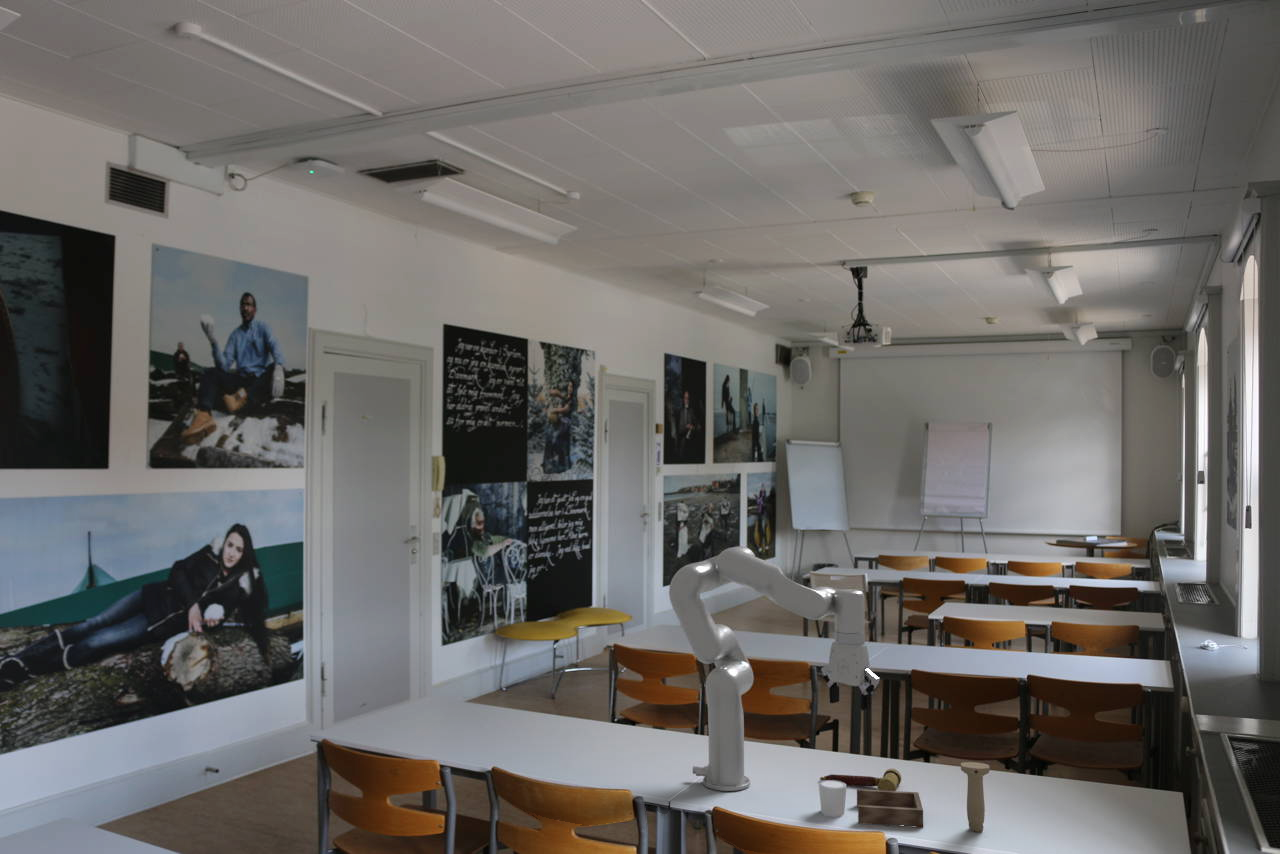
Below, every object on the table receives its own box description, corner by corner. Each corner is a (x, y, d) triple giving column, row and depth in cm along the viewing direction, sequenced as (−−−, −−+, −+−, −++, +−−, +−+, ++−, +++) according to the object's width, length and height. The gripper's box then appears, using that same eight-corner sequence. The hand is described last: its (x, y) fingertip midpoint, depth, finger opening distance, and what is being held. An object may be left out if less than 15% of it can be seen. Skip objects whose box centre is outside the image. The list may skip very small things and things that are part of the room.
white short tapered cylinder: (848, 809, 248) (848, 781, 248) (844, 818, 242) (844, 789, 242) (820, 806, 250) (820, 778, 251) (816, 815, 244) (816, 786, 244)
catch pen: (858, 823, 238) (858, 806, 239) (856, 804, 251) (856, 788, 251) (923, 827, 236) (923, 810, 236) (918, 808, 249) (918, 792, 249)
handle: (960, 825, 237) (959, 761, 238) (989, 827, 236) (988, 763, 236) (962, 832, 232) (961, 767, 233) (991, 834, 231) (990, 769, 231)
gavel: (814, 775, 266) (823, 765, 275) (816, 792, 266) (824, 781, 275) (894, 779, 258) (900, 768, 267) (896, 797, 257) (902, 786, 267)
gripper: (813, 635, 259) (813, 702, 258) (869, 645, 246) (869, 715, 245) (831, 632, 264) (831, 697, 263) (887, 641, 251) (887, 710, 250)
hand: (849, 705), depth 254 cm, fingers open, 9 cm apart
